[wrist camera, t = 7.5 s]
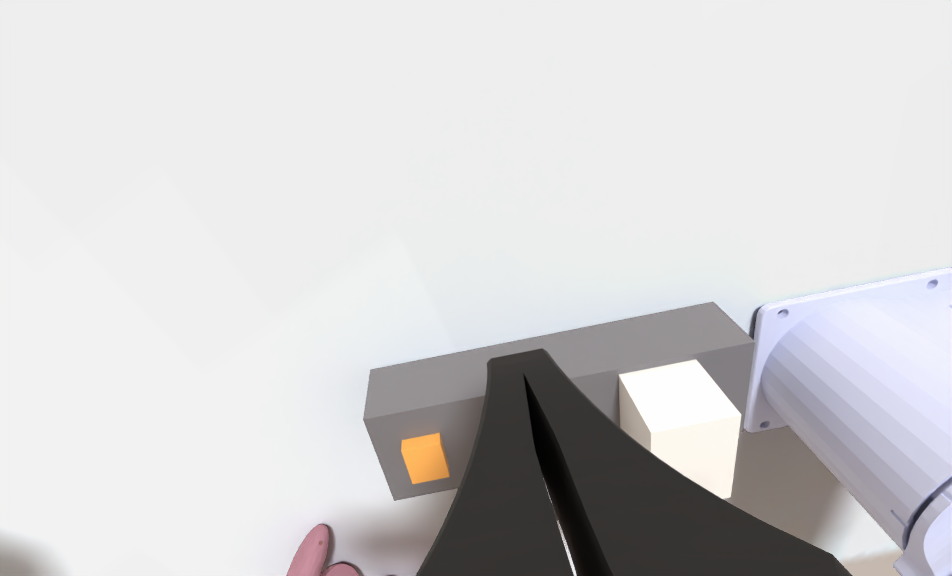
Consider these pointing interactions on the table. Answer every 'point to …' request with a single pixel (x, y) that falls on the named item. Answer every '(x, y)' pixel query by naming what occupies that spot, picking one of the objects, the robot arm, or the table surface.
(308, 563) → the video game controller
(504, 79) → the table surface
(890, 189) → the table surface
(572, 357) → the power strip
